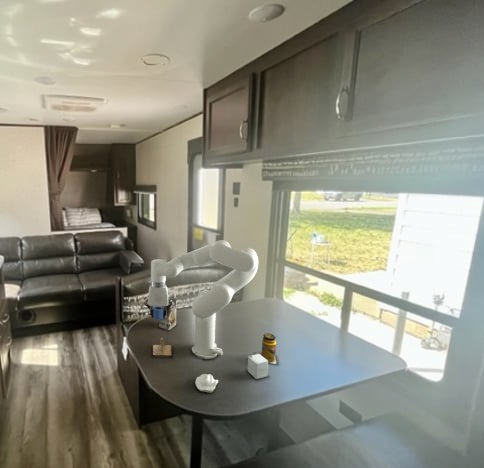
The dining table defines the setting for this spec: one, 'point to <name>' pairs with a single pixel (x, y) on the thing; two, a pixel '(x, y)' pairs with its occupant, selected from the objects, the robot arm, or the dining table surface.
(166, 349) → the dowel stand
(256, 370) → the product carton
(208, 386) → the rose
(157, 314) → the spool
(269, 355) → the condiment
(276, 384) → the dining table surface
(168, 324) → the coffee box
